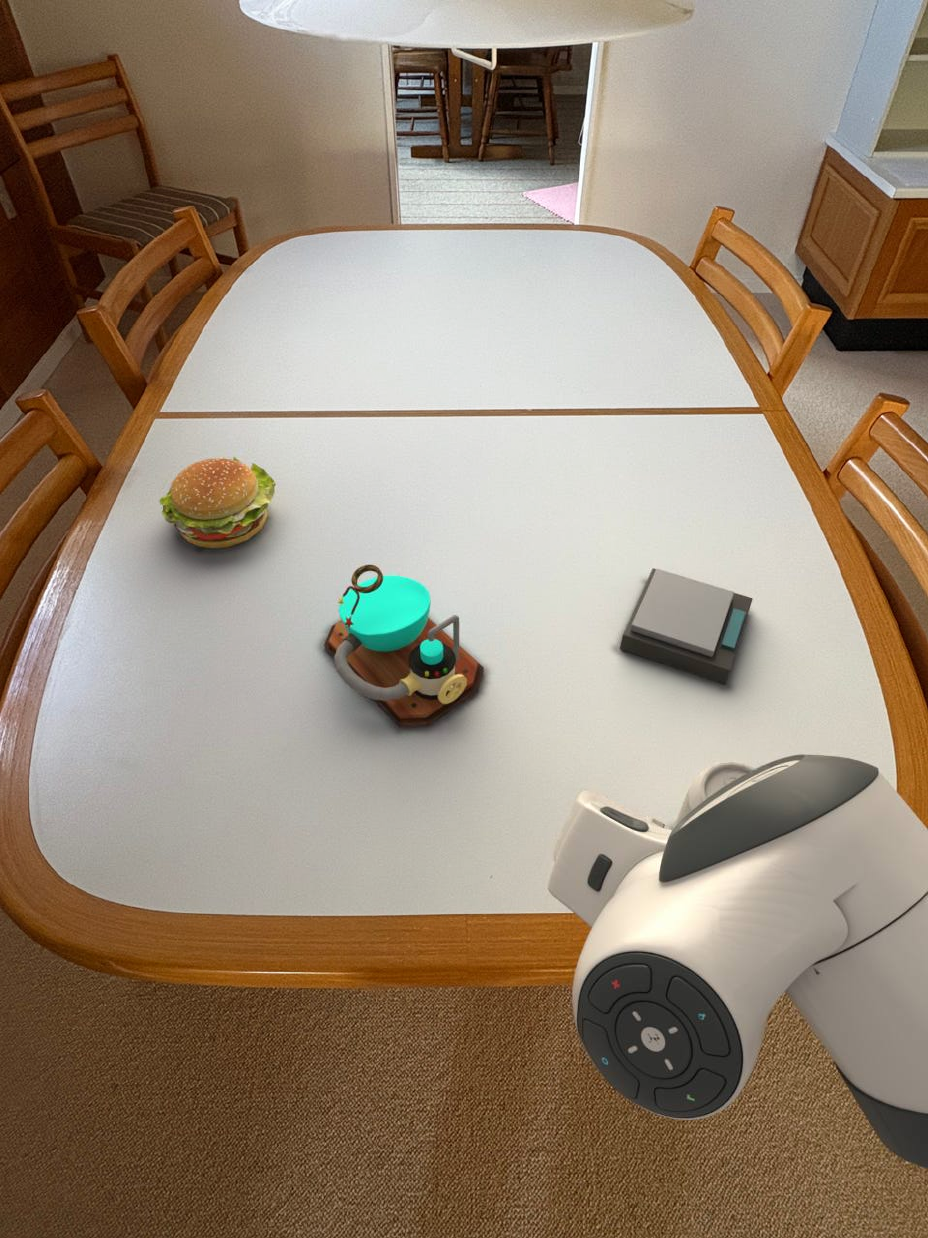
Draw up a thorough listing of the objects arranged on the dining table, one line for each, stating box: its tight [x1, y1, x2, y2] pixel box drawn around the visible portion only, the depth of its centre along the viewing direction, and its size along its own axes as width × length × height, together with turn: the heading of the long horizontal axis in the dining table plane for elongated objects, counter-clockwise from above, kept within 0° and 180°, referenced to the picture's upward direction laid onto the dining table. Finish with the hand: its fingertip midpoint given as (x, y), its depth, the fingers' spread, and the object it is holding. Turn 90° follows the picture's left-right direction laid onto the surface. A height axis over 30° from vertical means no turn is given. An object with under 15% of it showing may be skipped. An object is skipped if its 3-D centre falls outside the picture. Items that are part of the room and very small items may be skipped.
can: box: [671, 761, 756, 830], centre depth 68 cm, size 8×8×12 cm
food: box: [158, 456, 276, 549], centre depth 101 cm, size 14×14×8 cm
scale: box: [619, 567, 754, 685], centre depth 90 cm, size 12×12×4 cm
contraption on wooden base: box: [323, 564, 485, 728], centre depth 82 cm, size 14×18×15 cm
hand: (710, 859), depth 60 cm, fingers open, 8 cm apart
